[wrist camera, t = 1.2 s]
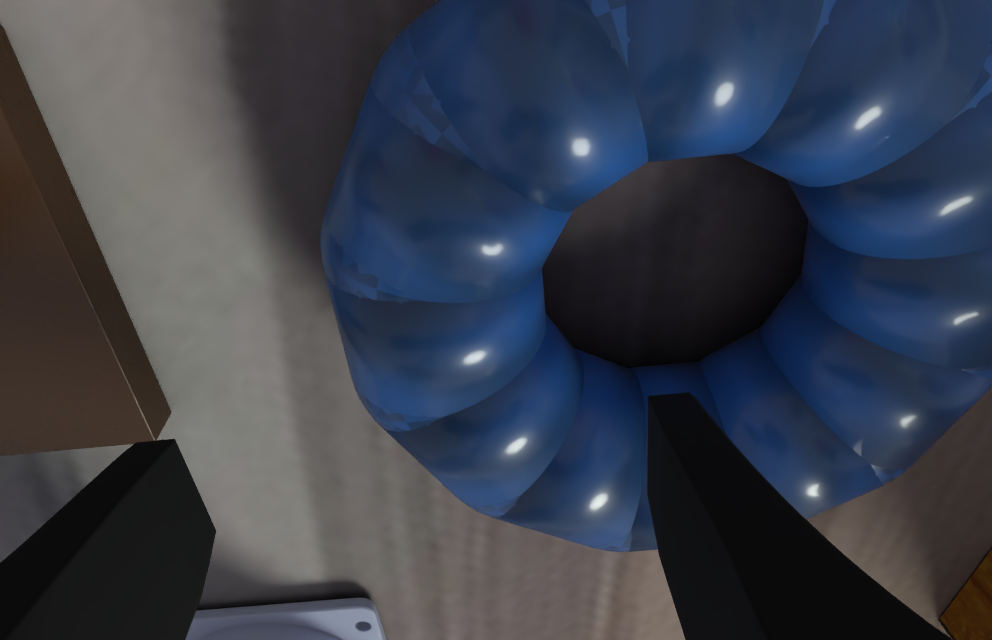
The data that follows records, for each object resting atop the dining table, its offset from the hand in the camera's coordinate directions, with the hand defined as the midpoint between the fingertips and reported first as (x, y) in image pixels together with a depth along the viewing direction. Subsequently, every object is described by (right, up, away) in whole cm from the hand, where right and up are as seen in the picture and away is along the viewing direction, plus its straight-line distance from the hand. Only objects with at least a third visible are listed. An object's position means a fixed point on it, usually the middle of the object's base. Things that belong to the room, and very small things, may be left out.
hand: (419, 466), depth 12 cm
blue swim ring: (+5, +3, +4) cm, 7 cm away
